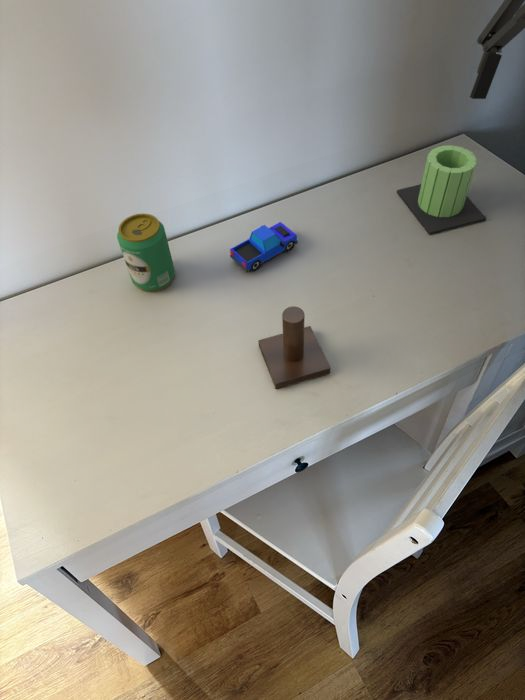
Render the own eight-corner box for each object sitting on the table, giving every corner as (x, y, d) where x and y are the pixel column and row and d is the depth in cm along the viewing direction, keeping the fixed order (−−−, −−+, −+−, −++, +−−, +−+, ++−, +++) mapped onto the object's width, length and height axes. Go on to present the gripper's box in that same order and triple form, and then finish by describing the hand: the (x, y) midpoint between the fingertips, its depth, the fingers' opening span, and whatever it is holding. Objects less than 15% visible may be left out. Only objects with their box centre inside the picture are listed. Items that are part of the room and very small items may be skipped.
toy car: (300, 249, 101) (300, 228, 97) (249, 278, 97) (247, 258, 93) (278, 231, 104) (277, 210, 101) (228, 258, 100) (225, 238, 97)
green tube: (454, 222, 103) (467, 177, 95) (411, 209, 106) (421, 164, 98) (468, 197, 107) (482, 152, 99) (427, 185, 110) (437, 141, 102)
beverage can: (123, 285, 98) (105, 234, 88) (148, 257, 102) (133, 206, 92) (159, 299, 95) (144, 248, 86) (184, 270, 99) (172, 218, 90)
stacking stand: (330, 373, 84) (334, 329, 75) (275, 389, 82) (273, 346, 74) (310, 331, 89) (311, 285, 80) (258, 345, 88) (254, 300, 79)
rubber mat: (485, 220, 103) (486, 217, 103) (429, 235, 102) (429, 232, 101) (449, 179, 112) (449, 176, 111) (396, 192, 110) (396, 189, 109)
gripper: (677, -38, 62) (583, 143, 76) (529, -66, 79) (474, 87, 93) (633, -45, 60) (544, 144, 74) (490, -73, 76) (439, 86, 90)
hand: (504, 113), depth 83 cm, fingers open, 13 cm apart
